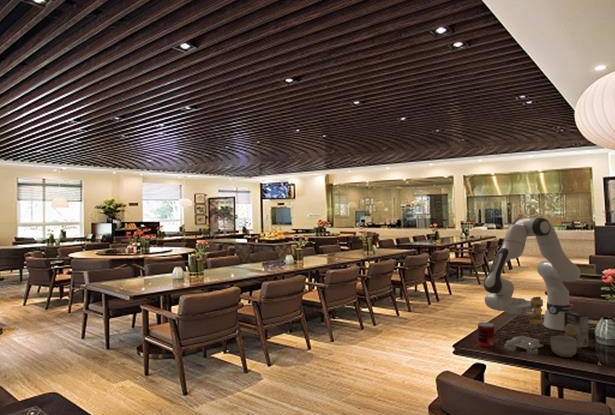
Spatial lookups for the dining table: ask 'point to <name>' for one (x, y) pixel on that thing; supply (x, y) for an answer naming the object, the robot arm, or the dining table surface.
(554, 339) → the teacup
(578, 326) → the coffee box
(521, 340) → the coupling seat
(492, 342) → the canned food
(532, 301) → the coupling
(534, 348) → the shaft
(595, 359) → the dining table surface
